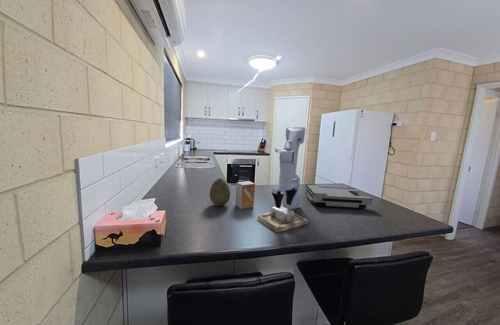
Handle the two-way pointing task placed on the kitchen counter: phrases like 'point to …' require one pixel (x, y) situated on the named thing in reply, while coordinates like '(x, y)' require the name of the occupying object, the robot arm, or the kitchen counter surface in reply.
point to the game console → (336, 197)
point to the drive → (282, 214)
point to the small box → (245, 194)
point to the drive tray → (278, 224)
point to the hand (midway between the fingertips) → (283, 205)
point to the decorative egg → (219, 192)
